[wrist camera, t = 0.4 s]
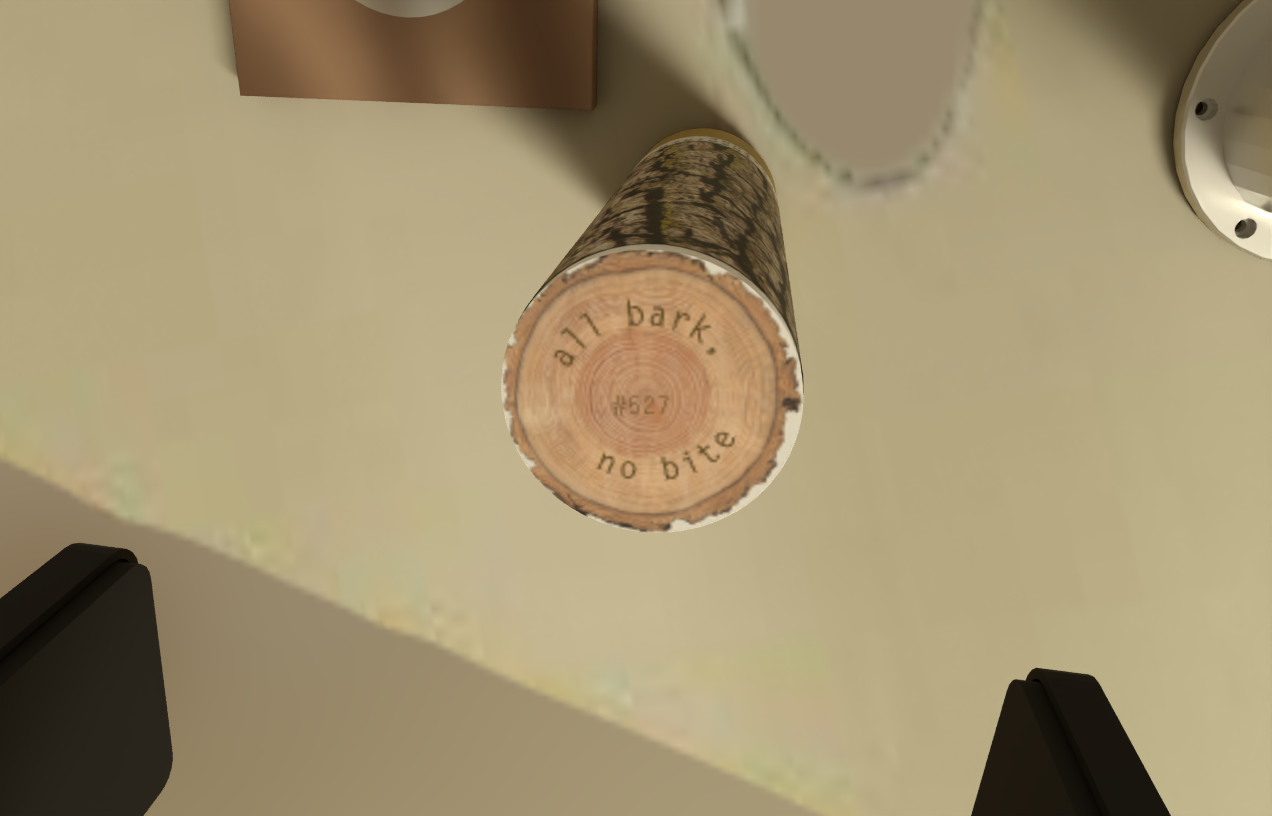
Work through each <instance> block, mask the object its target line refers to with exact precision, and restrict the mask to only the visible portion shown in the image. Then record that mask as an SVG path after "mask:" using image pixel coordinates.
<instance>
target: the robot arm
mask: <svg viewBox="0 0 1272 816" xmlns="http://www.w3.org/2000/svg"><path fill="white" fill-rule="evenodd" d="M1199 102H1202V104H1203V109H1202V111H1201V112H1200V113H1198V114H1195V108H1196V106H1197V104H1198V103H1199ZM1173 147H1174V155H1175V164H1176V172H1177V174H1178V177H1179V180H1180V183H1181V186H1182V189H1183V192H1184V195H1185V197H1186V198H1187V200H1188V202H1189V203H1190V205H1191V206H1192V208H1193V210H1194V211H1195V213H1196V214H1197V216H1198V218H1199V219H1200V220H1201V221H1202V222H1203V223H1204V224H1205V225H1206V226H1207V227H1208V228H1210V229H1211V230H1212V231H1213V232H1214V233H1215V234H1216V235H1217V236H1218V237H1220V238H1221V239H1223V240H1225V241H1226V242H1228V243H1229V244H1231V245H1233V246H1234V247H1236V248H1237V249H1239V250H1241V251H1244V252H1246V253H1249V254H1251V255H1253V256H1255V257H1258V258H1260V259H1263V260H1267V261H1271V262H1272V0H1243V1H1242V2H1241V3H1240V4H1239V5H1238V6H1237V7H1236V8H1235V9H1234V10H1233V11H1232V13H1231V14H1230V15H1229V16H1228V17H1227V18H1226V19H1225V20H1224V21H1223V22H1222V23H1221V24H1220V25H1219V26H1218V27H1217V29H1216V30H1215V32H1214V33H1213V34H1212V36H1211V37H1210V39H1209V40H1208V42H1207V43H1206V44H1205V46H1204V47H1203V49H1202V50H1201V52H1200V53H1199V55H1198V56H1197V58H1196V61H1195V63H1194V65H1193V67H1192V69H1191V71H1190V73H1189V75H1188V77H1187V79H1186V82H1185V84H1184V87H1183V90H1182V94H1181V97H1180V101H1179V104H1178V108H1177V111H1176V116H1175V128H1174V139H1173ZM1239 221H1241V226H1240V227H1239V228H1238V229H1237V230H1235V226H1236V225H1237V223H1238V222H1239ZM172 761H173V752H172V744H171V736H170V729H169V720H168V713H167V704H166V696H165V688H164V680H163V673H162V664H161V656H160V648H159V640H158V631H157V624H156V615H155V608H154V600H153V591H152V583H151V577H150V573H149V571H148V569H147V567H146V566H144V565H142V564H138V561H137V558H136V557H135V555H134V554H133V552H131V551H130V550H128V549H123V548H115V547H107V546H100V545H92V544H85V543H75V544H71V545H69V546H68V547H66V548H64V549H63V550H62V551H61V552H59V553H58V554H57V555H56V556H54V557H53V558H52V559H50V560H49V561H48V562H46V563H45V564H44V565H43V566H41V567H40V568H39V569H38V570H36V571H35V572H34V573H33V574H31V575H30V576H28V577H27V578H26V579H25V580H23V581H22V582H21V583H20V584H18V585H17V586H16V587H14V588H13V589H12V590H11V591H9V592H8V593H7V594H6V595H4V596H3V597H2V598H1V599H0V816H144V814H145V813H146V812H147V810H148V809H149V808H150V806H151V805H152V804H153V802H154V801H155V799H156V798H157V797H158V796H159V794H160V793H161V791H162V790H163V788H164V787H165V785H166V782H167V780H168V778H169V775H170V772H171V768H172ZM971 816H1171V815H1170V813H1169V811H1168V810H1167V808H1166V806H1165V804H1164V802H1163V800H1162V799H1161V797H1160V795H1159V793H1158V791H1157V789H1156V787H1155V786H1154V784H1153V782H1152V780H1151V778H1150V776H1149V775H1148V773H1147V771H1146V769H1145V767H1144V765H1143V764H1142V762H1141V760H1140V758H1139V756H1138V754H1137V752H1136V751H1135V749H1134V747H1133V745H1132V743H1131V741H1130V740H1129V738H1128V736H1127V734H1126V732H1125V730H1124V728H1123V727H1122V725H1121V723H1120V721H1119V719H1118V717H1117V716H1116V714H1115V712H1114V710H1113V708H1112V706H1111V704H1110V703H1109V701H1108V699H1107V697H1106V695H1105V693H1104V692H1103V690H1102V688H1101V686H1100V684H1099V683H1098V681H1097V680H1096V679H1095V677H1093V676H1091V675H1088V674H1080V673H1072V672H1065V671H1057V670H1049V669H1042V668H1035V669H1032V670H1031V672H1030V673H1029V674H1028V676H1027V678H1026V681H1025V680H1017V679H1015V680H1013V681H1012V682H1011V683H1010V684H1009V687H1008V689H1007V692H1006V696H1005V699H1004V703H1003V706H1002V710H1001V713H1000V717H999V720H998V724H997V727H996V731H995V734H994V738H993V741H992V745H991V748H990V752H989V755H988V759H987V762H986V766H985V769H984V773H983V776H982V780H981V783H980V787H979V790H978V794H977V797H976V801H975V804H974V808H973V811H972V815H971Z"/></svg>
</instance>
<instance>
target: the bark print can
mask: <svg viewBox="0 0 1272 816" xmlns="http://www.w3.org/2000/svg"><path fill="white" fill-rule="evenodd" d="M777 203H778V200H777V196H776V190H775V185H774V181H773V178H772V176H771V173H770V171H769V169H768V167H767V165H766V163H765V162H764V160H763V159H762V158H761V156H760V155H759V154H758V153H757V152H756V151H755V150H754V149H753V148H752V147H751V146H750V145H749V144H748V143H746V142H745V141H743V140H742V139H740V138H739V137H737V136H735V135H733V134H730V133H727V132H725V131H721V130H717V129H709V128H696V129H689V130H684V131H681V132H678V133H675V134H673V135H670V136H668V137H667V138H665V139H663V140H662V141H660V142H659V143H657V144H656V145H655V146H654V147H653V148H652V149H650V150H649V152H648V153H647V154H646V155H645V156H644V157H643V159H642V160H641V161H640V162H639V163H638V164H637V165H636V167H635V168H634V170H632V172H631V173H630V174H629V175H628V177H627V178H626V179H625V181H624V182H623V183H622V184H621V186H620V187H619V188H618V190H617V191H616V192H615V193H614V195H613V196H612V197H611V199H610V200H609V201H608V202H607V204H606V205H605V206H604V207H603V209H602V210H601V211H600V213H599V214H598V215H597V216H596V218H595V219H594V220H593V222H592V223H591V224H590V225H589V227H588V228H587V229H586V231H585V232H584V233H583V234H582V236H581V237H580V238H579V239H578V241H577V242H576V243H575V245H574V246H573V247H572V248H571V250H570V251H569V252H568V254H567V255H566V256H565V257H564V259H563V260H562V261H561V262H560V264H559V265H558V266H557V268H556V269H555V270H554V271H553V273H552V274H551V275H550V277H549V278H548V279H547V280H546V282H545V283H544V284H543V286H542V287H541V288H540V289H539V291H538V292H537V293H536V294H535V296H534V297H533V299H532V300H531V301H530V303H529V304H528V305H527V307H526V308H525V310H524V312H523V314H522V315H521V317H520V319H519V321H518V323H517V325H516V326H515V328H514V331H513V333H512V335H511V338H510V340H509V343H508V346H507V349H506V353H505V357H504V362H503V368H502V379H501V392H502V403H503V410H504V415H505V419H506V423H507V427H508V429H509V432H510V435H511V437H512V440H513V442H514V444H515V446H516V448H517V450H518V452H519V454H520V456H521V457H522V459H523V460H524V462H525V463H526V465H527V467H528V468H529V469H530V470H531V472H532V473H533V474H534V475H535V477H536V478H537V479H538V480H539V481H540V482H541V483H542V484H543V485H544V486H545V487H546V488H547V489H548V490H549V491H550V492H551V493H552V494H553V495H555V496H556V497H557V498H558V499H560V500H561V501H562V502H564V503H565V504H567V505H568V506H569V507H571V508H573V509H574V510H576V511H578V512H580V513H581V514H583V515H585V516H587V517H590V518H592V519H594V520H596V521H599V522H602V523H604V524H607V525H610V526H614V527H618V528H622V529H626V530H632V531H639V532H652V533H661V532H676V531H684V530H689V529H694V528H698V527H701V526H705V525H708V524H711V523H714V522H716V521H718V520H721V519H723V518H725V517H727V516H729V515H731V514H733V513H734V512H736V511H738V510H740V509H741V508H743V507H744V506H745V505H747V504H748V503H750V502H751V501H752V500H754V499H755V498H756V497H757V496H758V495H759V494H760V493H762V492H763V491H764V490H765V489H766V487H767V486H768V485H769V484H770V483H771V482H772V481H773V480H774V478H775V477H776V476H777V474H778V473H779V472H780V470H781V469H782V467H783V466H784V464H785V462H786V460H787V459H788V457H789V455H790V453H791V451H792V448H793V446H794V444H795V441H796V438H797V435H798V432H799V428H800V423H801V418H802V410H803V393H804V388H803V372H802V365H801V358H800V351H799V344H798V338H797V331H796V324H795V317H794V310H793V303H792V296H791V289H790V282H789V276H788V269H787V262H786V255H785V248H784V241H783V234H782V227H781V220H780V214H779V208H778V204H777Z"/></svg>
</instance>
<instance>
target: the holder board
mask: <svg viewBox="0 0 1272 816" xmlns="http://www.w3.org/2000/svg"><path fill="white" fill-rule="evenodd" d="M229 4H230V13H231V21H232V29H233V38H234V46H235V55H236V63H237V71H238V80H239V88H240V95H241V96H265V97H289V98H313V99H337V100H361V101H385V102H409V103H433V104H457V105H481V106H505V107H529V108H553V109H577V110H592V109H594V108H596V94H597V22H598V0H229Z"/></svg>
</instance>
